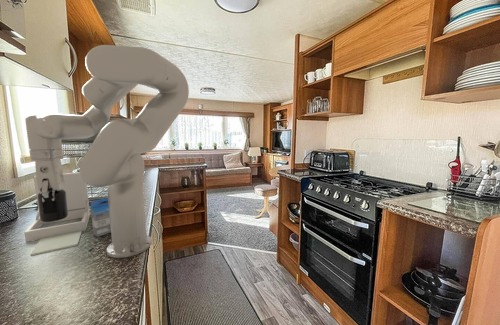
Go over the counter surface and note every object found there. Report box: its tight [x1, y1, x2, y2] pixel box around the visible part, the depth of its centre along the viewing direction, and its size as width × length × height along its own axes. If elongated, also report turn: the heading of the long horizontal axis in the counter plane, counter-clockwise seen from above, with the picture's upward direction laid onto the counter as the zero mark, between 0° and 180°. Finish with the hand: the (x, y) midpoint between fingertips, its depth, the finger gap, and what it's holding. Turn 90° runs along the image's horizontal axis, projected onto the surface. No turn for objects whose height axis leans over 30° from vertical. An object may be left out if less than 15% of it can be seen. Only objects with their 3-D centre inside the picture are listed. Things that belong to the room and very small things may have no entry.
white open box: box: [24, 171, 91, 243], centre depth 82 cm, size 18×16×20 cm
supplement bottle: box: [36, 183, 68, 222], centre depth 69 cm, size 7×7×12 cm
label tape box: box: [89, 197, 111, 238], centre depth 78 cm, size 9×4×12 cm, turn 143°
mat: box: [30, 231, 83, 257], centre depth 71 cm, size 11×11×1 cm
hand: (53, 208), depth 69 cm, fingers closed on supplement bottle, 6 cm apart
